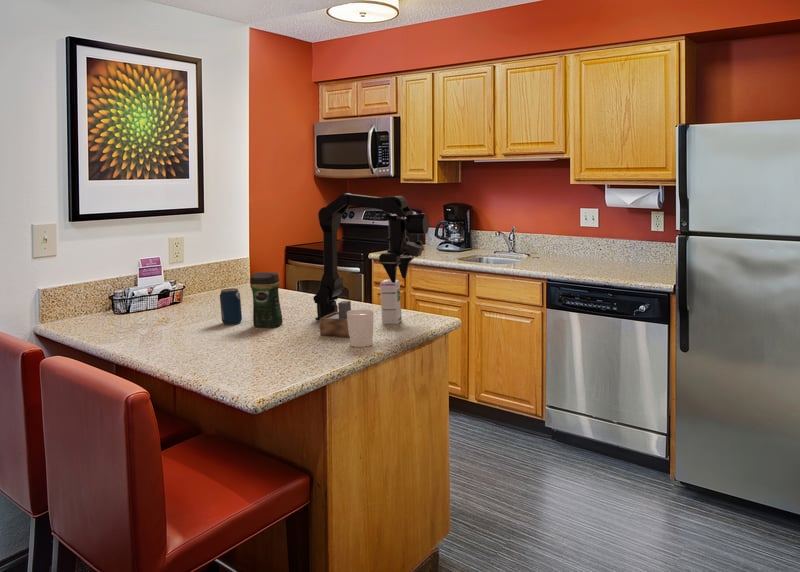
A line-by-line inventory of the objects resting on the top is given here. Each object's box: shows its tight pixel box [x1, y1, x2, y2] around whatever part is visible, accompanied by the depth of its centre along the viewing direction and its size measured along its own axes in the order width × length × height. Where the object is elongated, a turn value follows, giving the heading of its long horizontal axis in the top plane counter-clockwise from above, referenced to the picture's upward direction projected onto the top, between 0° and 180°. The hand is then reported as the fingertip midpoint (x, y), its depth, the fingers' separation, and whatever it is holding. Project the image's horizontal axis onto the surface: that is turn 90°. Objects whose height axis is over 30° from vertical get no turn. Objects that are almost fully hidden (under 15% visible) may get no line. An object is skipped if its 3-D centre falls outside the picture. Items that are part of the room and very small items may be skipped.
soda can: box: [219, 287, 243, 326], centre depth 216 cm, size 7×7×12 cm
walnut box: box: [319, 311, 349, 338], centre depth 197 cm, size 12×10×6 cm
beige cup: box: [347, 308, 374, 348], centre depth 182 cm, size 8×8×10 cm
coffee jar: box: [249, 271, 283, 328], centre depth 210 cm, size 10×8×19 cm
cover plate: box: [329, 300, 352, 319], centre depth 196 cm, size 10×7×6 cm
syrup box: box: [379, 278, 402, 325], centre depth 209 cm, size 6×6×14 cm
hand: (398, 280), depth 207 cm, fingers open, 9 cm apart
